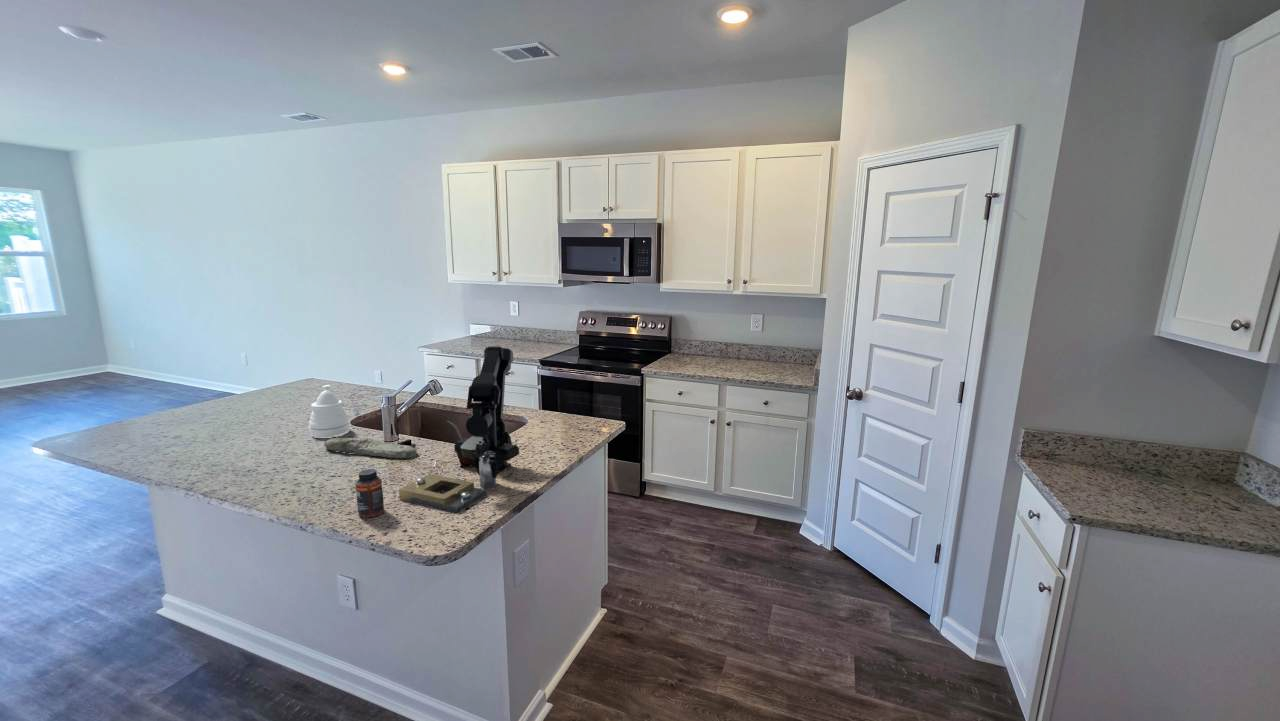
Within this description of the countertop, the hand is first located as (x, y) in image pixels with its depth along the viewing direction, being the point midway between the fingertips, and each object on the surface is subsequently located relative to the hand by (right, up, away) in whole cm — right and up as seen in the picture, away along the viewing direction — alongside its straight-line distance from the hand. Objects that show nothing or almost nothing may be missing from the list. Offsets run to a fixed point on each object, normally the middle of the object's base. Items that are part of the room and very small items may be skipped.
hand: (487, 476), depth 150 cm
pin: (0, -3, 0) cm, 2 cm away
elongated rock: (-48, +2, +26) cm, 54 cm away
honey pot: (-72, +6, +45) cm, 85 cm away
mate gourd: (-11, 0, +15) cm, 19 cm away
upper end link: (-12, -4, -7) cm, 14 cm away
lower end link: (-8, -4, -9) cm, 12 cm away
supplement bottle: (-25, -6, -17) cm, 31 cm away
